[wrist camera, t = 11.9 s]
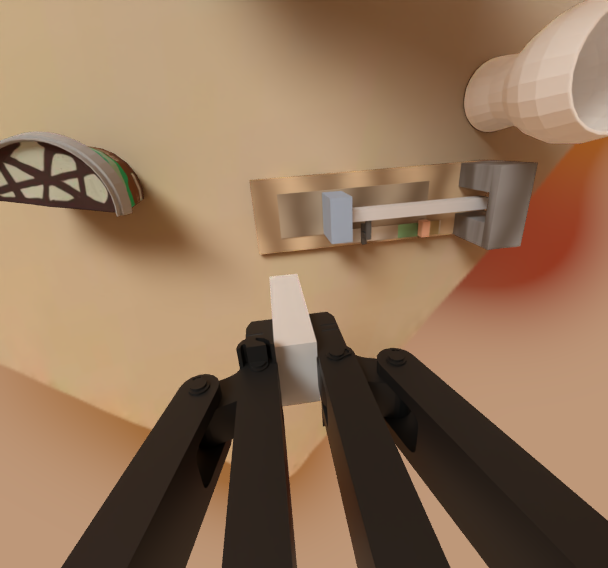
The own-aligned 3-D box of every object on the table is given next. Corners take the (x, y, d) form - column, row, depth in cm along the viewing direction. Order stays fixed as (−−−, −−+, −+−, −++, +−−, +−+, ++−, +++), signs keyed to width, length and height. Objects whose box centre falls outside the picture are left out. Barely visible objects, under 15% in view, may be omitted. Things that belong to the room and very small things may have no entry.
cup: (515, 151, 40) (646, 153, 27) (440, 137, 39) (538, 131, 25) (552, 52, 36) (728, -6, 23) (470, 31, 35) (607, -45, 21)
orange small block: (417, 235, 42) (421, 237, 41) (418, 219, 41) (422, 221, 40) (424, 234, 42) (429, 236, 41) (426, 219, 41) (430, 221, 40)
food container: (154, 143, 35) (117, 142, 26) (157, 200, 37) (124, 217, 28) (29, 126, 33) (-59, 118, 24) (40, 187, 35) (-37, 201, 26)
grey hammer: (324, 246, 41) (332, 258, 36) (321, 192, 38) (330, 198, 34) (466, 231, 42) (491, 241, 38) (474, 178, 40) (501, 182, 35)
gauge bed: (259, 252, 41) (259, 275, 34) (249, 180, 38) (247, 188, 30) (476, 229, 44) (520, 246, 36) (486, 159, 40) (537, 162, 33)
